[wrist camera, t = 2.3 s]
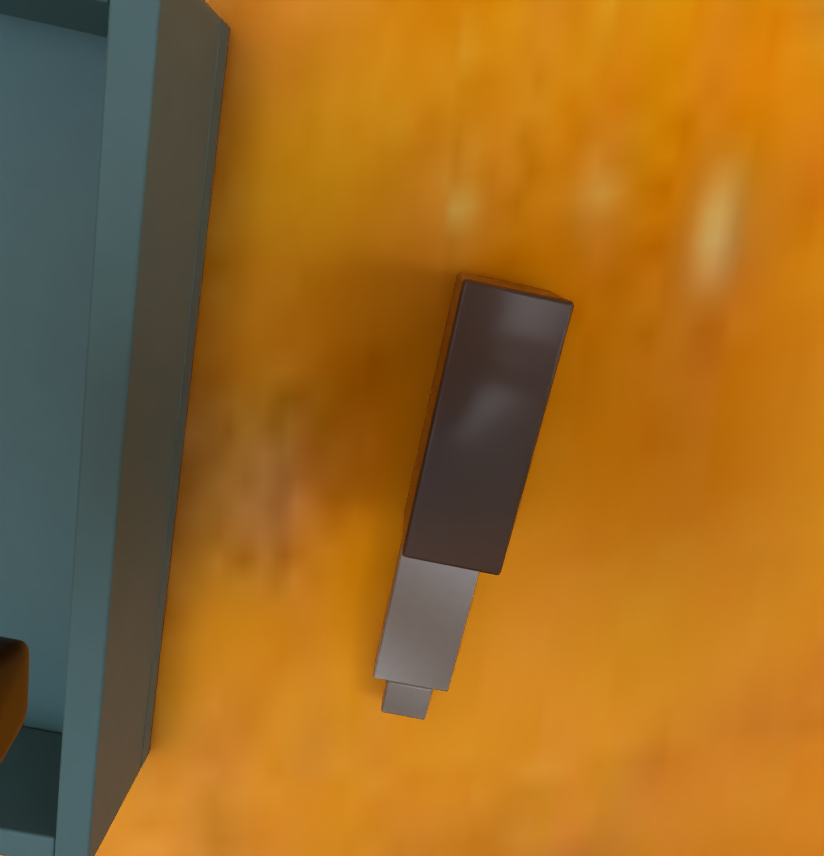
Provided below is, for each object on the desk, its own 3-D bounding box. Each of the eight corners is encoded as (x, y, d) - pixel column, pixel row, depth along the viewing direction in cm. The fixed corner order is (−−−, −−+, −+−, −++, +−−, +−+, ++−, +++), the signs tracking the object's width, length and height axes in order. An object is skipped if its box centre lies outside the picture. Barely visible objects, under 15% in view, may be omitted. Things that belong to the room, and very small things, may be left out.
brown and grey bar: (457, 270, 15) (463, 278, 12) (552, 291, 15) (575, 301, 13) (364, 694, 18) (355, 761, 16) (442, 708, 18) (445, 777, 16)
